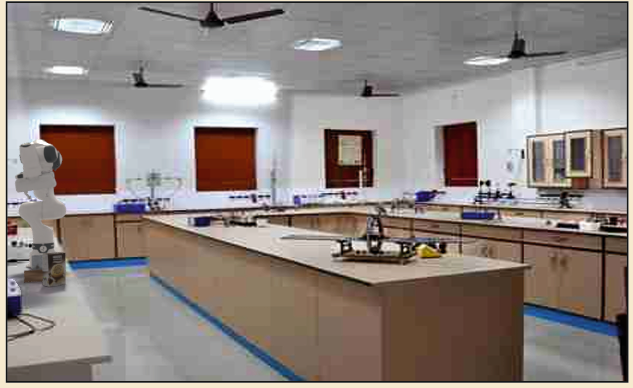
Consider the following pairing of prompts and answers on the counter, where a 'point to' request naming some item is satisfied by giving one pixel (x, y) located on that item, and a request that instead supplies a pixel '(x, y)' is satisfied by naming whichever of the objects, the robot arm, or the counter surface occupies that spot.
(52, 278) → the coffee box
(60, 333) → the counter surface
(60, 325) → the counter surface
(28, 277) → the brown wooden block
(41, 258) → the grey upright block
